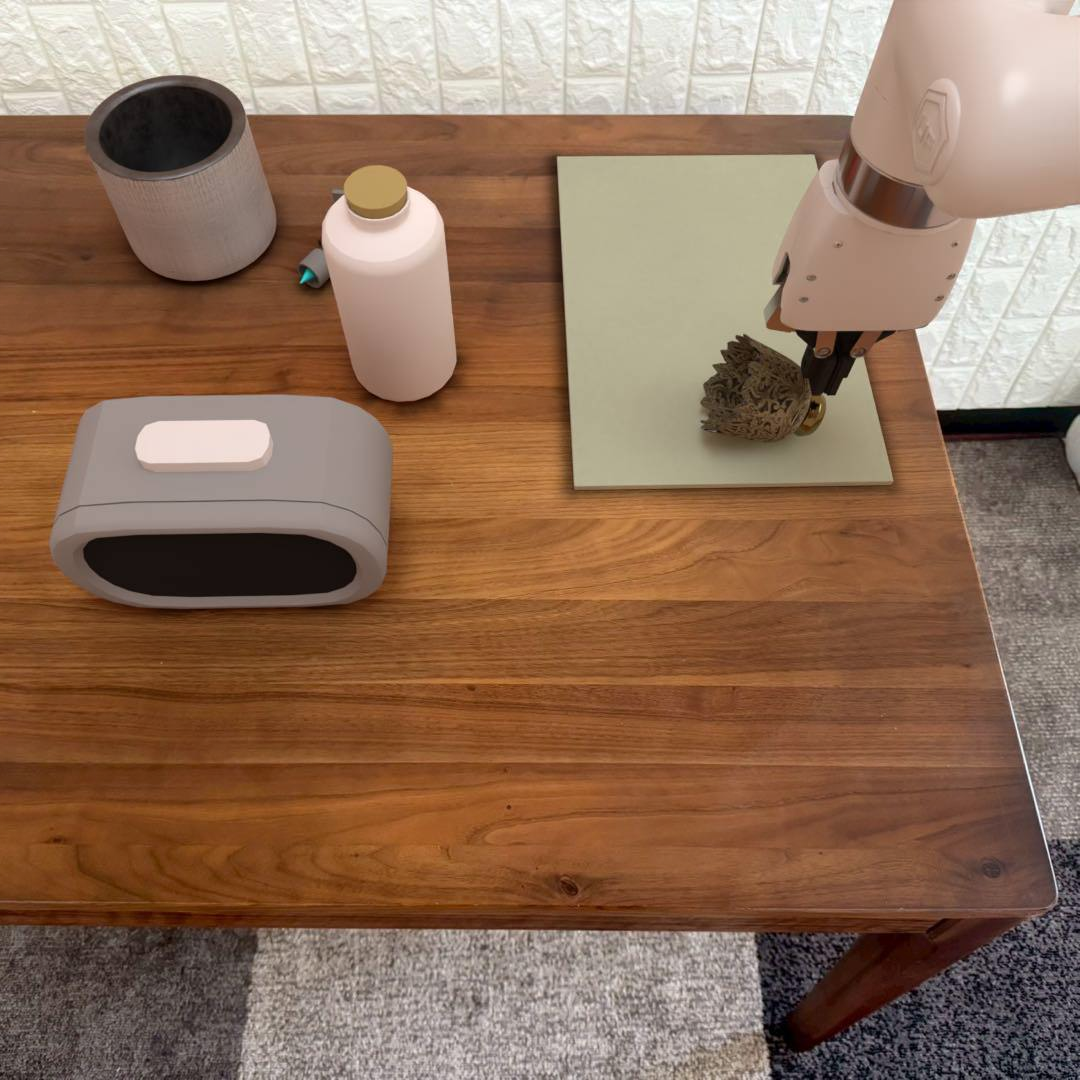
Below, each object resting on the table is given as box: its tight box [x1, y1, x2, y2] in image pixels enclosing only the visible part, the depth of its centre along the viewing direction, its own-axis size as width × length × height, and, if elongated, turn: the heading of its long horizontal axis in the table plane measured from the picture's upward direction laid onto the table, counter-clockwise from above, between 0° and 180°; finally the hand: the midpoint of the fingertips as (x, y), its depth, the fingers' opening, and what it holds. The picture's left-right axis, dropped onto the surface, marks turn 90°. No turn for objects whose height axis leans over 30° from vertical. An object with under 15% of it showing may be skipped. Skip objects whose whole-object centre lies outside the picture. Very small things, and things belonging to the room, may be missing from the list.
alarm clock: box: [48, 394, 394, 610], centre depth 63 cm, size 21×10×13 cm, turn 91°
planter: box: [83, 74, 277, 282], centre depth 79 cm, size 13×12×11 cm
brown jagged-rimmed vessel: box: [700, 334, 826, 443], centre depth 71 cm, size 8×7×8 cm
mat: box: [556, 154, 894, 491], centre depth 80 cm, size 36×24×1 cm, turn 2°
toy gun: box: [296, 188, 344, 289], centre depth 80 cm, size 10×12×5 cm
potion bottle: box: [321, 164, 457, 403], centre depth 69 cm, size 8×8×18 cm
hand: (819, 379), depth 68 cm, fingers closed
